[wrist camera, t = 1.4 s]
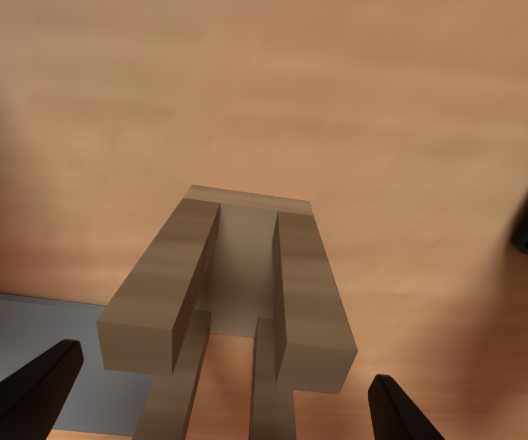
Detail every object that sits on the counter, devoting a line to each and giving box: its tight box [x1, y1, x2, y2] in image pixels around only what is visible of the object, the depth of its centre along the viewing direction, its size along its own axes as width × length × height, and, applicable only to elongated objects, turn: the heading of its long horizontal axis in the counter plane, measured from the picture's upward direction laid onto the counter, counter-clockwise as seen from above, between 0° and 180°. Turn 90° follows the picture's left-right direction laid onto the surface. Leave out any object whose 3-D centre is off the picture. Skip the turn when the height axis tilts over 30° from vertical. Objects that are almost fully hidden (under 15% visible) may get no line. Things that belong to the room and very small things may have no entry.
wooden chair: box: [96, 185, 358, 440], centre depth 10 cm, size 7×5×8 cm
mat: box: [0, 294, 156, 437], centre depth 17 cm, size 12×12×1 cm
